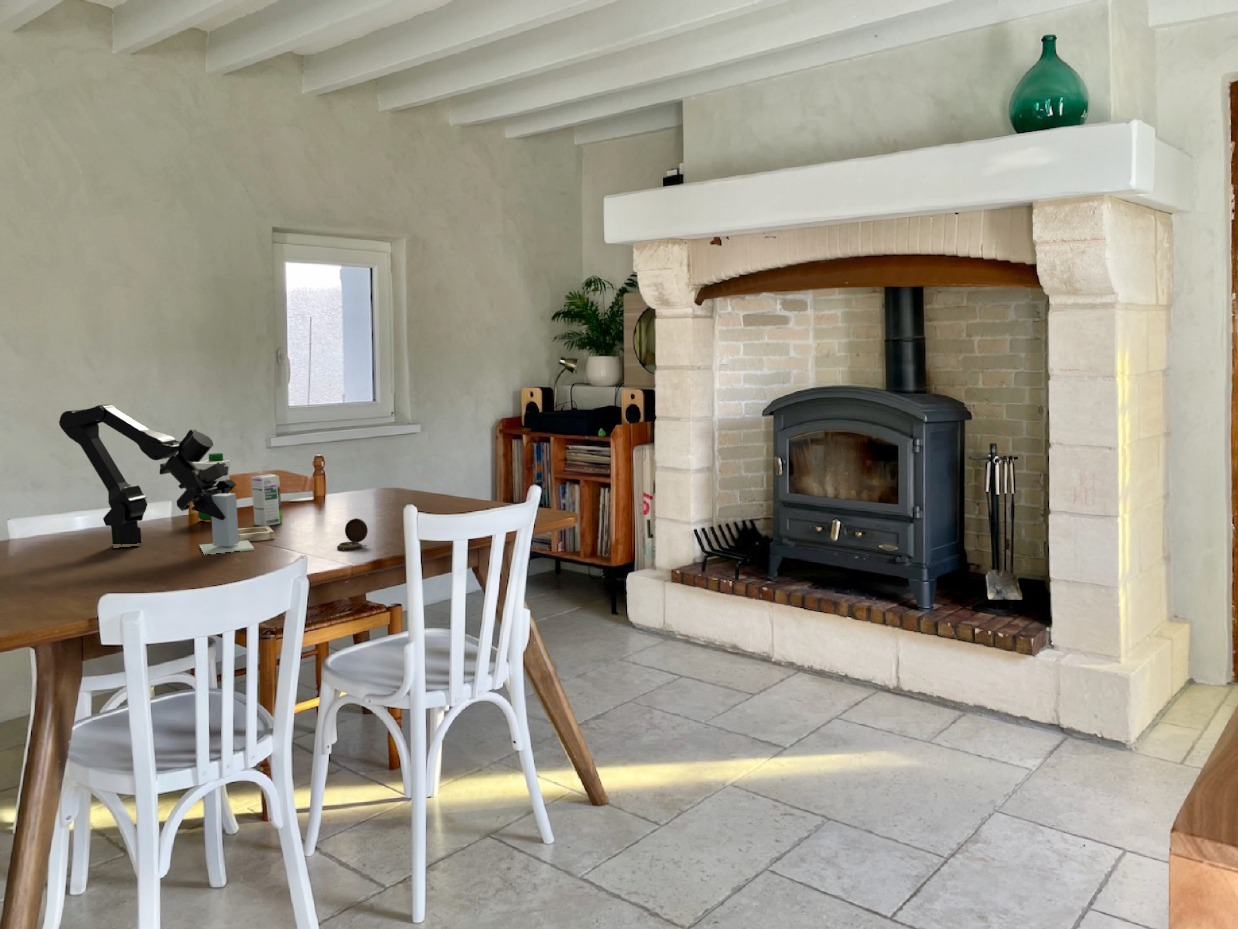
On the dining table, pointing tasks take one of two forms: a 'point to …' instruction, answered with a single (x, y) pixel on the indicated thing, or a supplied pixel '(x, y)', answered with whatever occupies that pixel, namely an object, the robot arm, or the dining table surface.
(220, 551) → the plate
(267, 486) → the syrup box
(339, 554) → the dining table surface
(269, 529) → the holder
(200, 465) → the milk carton
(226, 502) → the link block
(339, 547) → the compass
